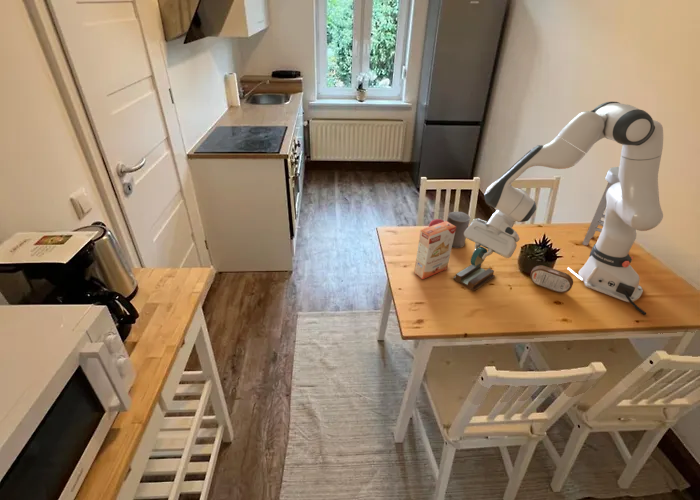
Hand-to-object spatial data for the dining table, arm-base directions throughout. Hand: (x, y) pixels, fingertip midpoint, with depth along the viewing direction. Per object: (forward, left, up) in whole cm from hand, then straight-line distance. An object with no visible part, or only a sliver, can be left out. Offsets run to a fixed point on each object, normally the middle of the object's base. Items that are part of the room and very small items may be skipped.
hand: (478, 256), depth 149 cm
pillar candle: (+22, -17, -11) cm, 30 cm away
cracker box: (+14, +9, -11) cm, 20 cm away
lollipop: (+24, -5, -11) cm, 27 cm away
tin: (-22, -19, -11) cm, 31 cm away
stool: (-21, -70, -11) cm, 74 cm away
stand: (0, -1, -11) cm, 11 cm away
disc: (0, -1, -4) cm, 4 cm away
